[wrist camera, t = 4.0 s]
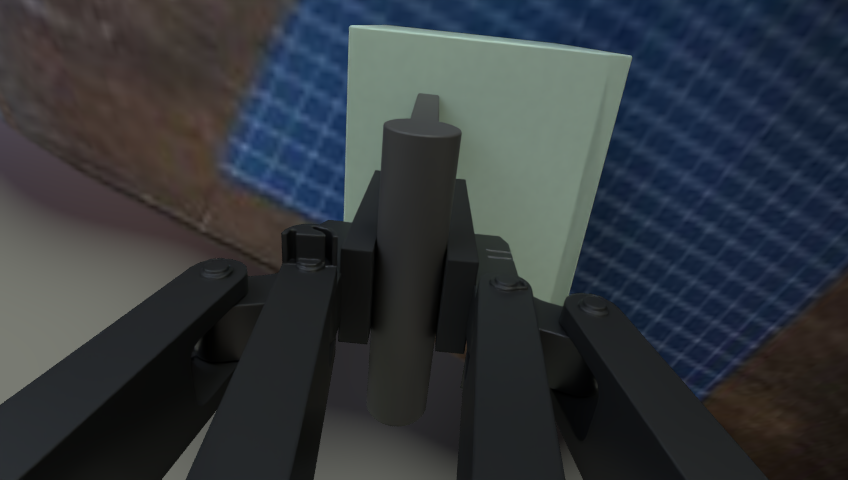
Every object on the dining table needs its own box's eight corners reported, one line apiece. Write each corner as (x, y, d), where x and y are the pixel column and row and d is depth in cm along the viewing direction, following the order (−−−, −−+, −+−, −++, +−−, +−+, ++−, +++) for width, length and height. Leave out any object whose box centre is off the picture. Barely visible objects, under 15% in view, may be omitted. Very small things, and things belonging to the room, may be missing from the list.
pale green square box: (785, 80, 9) (276, 25, 9) (618, 492, 14) (290, 461, 14) (555, 43, 27) (385, 24, 27) (518, 230, 32) (374, 215, 32)
